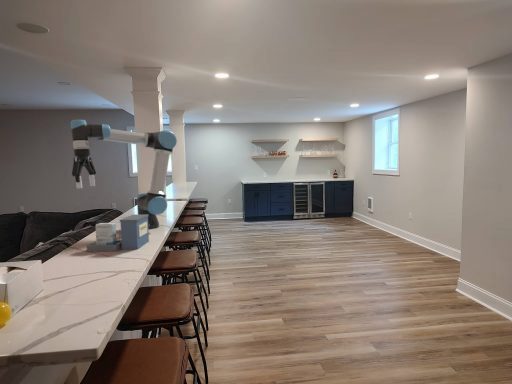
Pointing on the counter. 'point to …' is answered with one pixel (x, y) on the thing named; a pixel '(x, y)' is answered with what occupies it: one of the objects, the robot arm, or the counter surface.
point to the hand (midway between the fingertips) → (86, 187)
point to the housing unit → (134, 231)
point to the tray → (104, 247)
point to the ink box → (106, 234)
